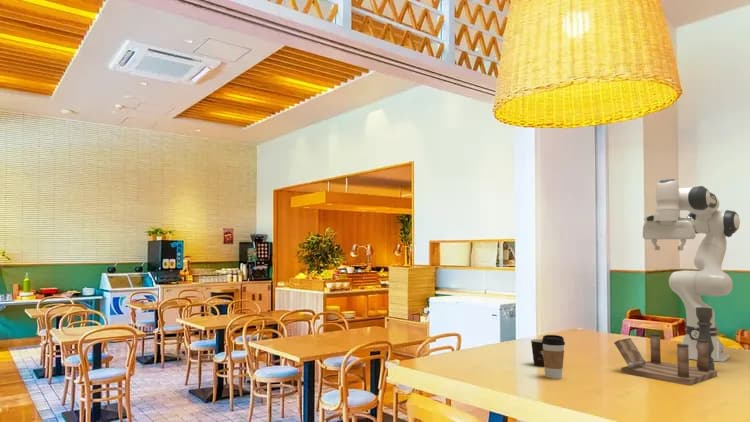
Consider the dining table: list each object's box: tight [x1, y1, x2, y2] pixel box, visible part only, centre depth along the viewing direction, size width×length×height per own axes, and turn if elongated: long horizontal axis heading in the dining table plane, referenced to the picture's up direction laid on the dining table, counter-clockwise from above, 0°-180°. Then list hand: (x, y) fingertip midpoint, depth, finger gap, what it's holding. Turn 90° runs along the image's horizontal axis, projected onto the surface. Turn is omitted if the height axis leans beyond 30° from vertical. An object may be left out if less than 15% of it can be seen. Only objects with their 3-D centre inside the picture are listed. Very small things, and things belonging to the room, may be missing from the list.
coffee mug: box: [530, 338, 545, 368], centre depth 231 cm, size 12×9×10 cm
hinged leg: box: [613, 337, 647, 368], centre depth 223 cm, size 10×2×11 cm
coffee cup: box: [542, 334, 566, 380], centre depth 211 cm, size 8×8×15 cm
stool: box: [620, 333, 718, 386], centre depth 218 cm, size 25×25×14 cm
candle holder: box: [696, 307, 716, 371], centre depth 226 cm, size 6×6×25 cm
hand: (668, 250), depth 236 cm, fingers open, 8 cm apart
